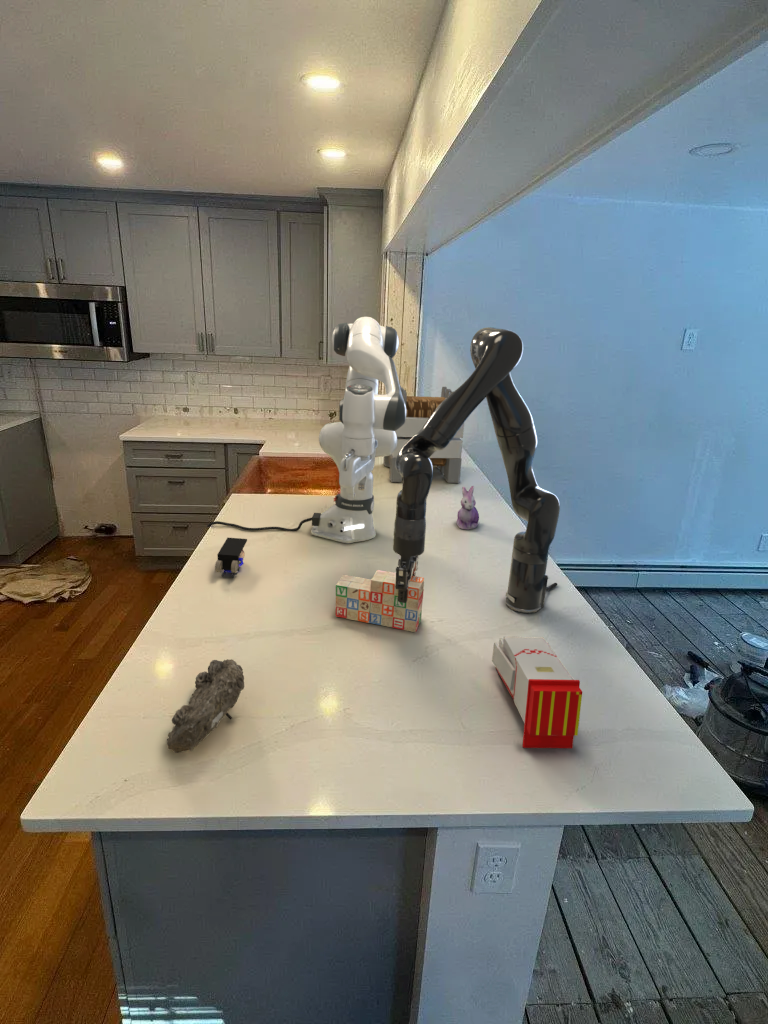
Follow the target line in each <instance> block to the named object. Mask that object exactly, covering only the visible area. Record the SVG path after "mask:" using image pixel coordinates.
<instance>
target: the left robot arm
mask: <svg viewBox="0 0 768 1024" xmlns="http://www.w3.org/2000/svg"><path fill="white" fill-rule="evenodd" d="M398 335H399V334H398V332H397V330H396V328H394V327H391V326H388V325H386V326H383V325H380V323H379V322H378V321H377V320H376V319H375V318H373V317H370V316H361V317H358V318H357V319H356V320H355V321H354V322H353V323H348V322H343V323H338V324H337V325H336V326H335V327H334V330H333V331H332V335H331V345H332V348H333V351H334V352H335V354H336V355H338V356H341V357H346V359H347V363H348V365H349V366H348V369H347V373H346V378H345V379H346V380H345V388H344V389H345V390H344V395H343V398H342V399H341V400H340V401H339V417H338V420H339V421H336V422H330V423H325V424H324V425H323V426H322V427H321V429H320V431H319V434H318V442H319V446H320V448H321V450H322V451H323V452H324V453H325V454H327V455H328V456H329V457H330V459H332V461H333V462H334V464H335V465H336V467H337V470H338V473H339V476H338V485H339V487H340V488H339V489H340V490H339V491H338V492H337V494H336V495H335V496H334V497H333V502H334V504H333V505H331V506H329V507H328V508H326V509H325V510H323V512H313V514H312V517H308V518H305V519H302V520H301V521H300V522H299V523H298V526H297V527H295V528H287V527H282V526H263V527H246V526H242V525H239V524H236V523H230V522H224V521H219V520H215V521H211V522H210V523H208V524H207V525H206V528H209V527H212V526H213V525H221V526H227V527H233V528H236V529H239V530H243V531H251V532H259V531H260V532H261V531H269V530H272V531H273V530H278V531H283V532H297V531H300V530H301V528H302V526H303V525H304V524H305V523H307V522H311V526H312V528H311V530H310V533H311V536H315V537H319V538H323V539H326V540H330V541H336V542H339V543H343V544H352V543H357V542H365V541H368V540H372V539H373V538H375V537H376V535H377V532H376V528H375V523H374V513H373V512H374V509H375V496H374V474H373V471H374V468H375V463H376V462H375V461H376V458H382V457H383V458H384V456H389V455H391V454H392V453H393V452H394V450H395V449H396V446H397V435H396V433H395V431H396V430H397V429H399V428H400V427H401V426H402V425H404V423H405V420H406V406H405V403H404V399H403V396H402V393H401V389H400V386H401V384H400V380H399V377H398V376H399V375H398V372H397V368H396V364H395V362H394V359H393V358H394V357H395V356H396V353H397V352H398V349H399V346H400V339H399V336H398ZM379 382H381V383H382V384H383V385H384V388H385V394H379Z"/></svg>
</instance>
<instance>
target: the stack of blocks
mask: <svg viewBox="0 0 768 1024" xmlns="http://www.w3.org/2000/svg"><path fill="white" fill-rule="evenodd" d="M407 576H409V575H408V574H407ZM401 584H404V583H403V582H401ZM395 586H396V571H394V572H393V571H388V570H387V571H386V570H380V569H377V570H376V571H375V573H374V574H373V576H372V578H371V579H370V578H364V577H359V576H354V575H353V576H352V575H346V574H343V575H342V576H341V577H340V579H339V580H338V581H337V583H335V617H336V618H337V617H338V618H342V619H347V620H352V621H356V622H357V621H358V622H361V623H367V624H373V625H377V626H384V627H388V628H393V629H396V630H402V631H406V632H412V633H416V632H417V631H418V629H419V625H420V624H421V621H422V612H423V601H424V600H423V599H424V591H425V589H424V587H425V577H422V576H416V575H415V576H412V579H411V580H410V581H409V588H408V597H407V602H406V603H402V602H399V601H398V589H396V587H395Z"/></svg>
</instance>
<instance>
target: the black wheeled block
mask: <svg viewBox="0 0 768 1024" xmlns="http://www.w3.org/2000/svg"><path fill="white" fill-rule="evenodd" d="M247 542H248V538H240V537H226V539H225V541H224V543H223V544H222V546H221V547H220V549H219V551H218V552H217V560H216V562H215V564H214V572H215V573H221V577H222V578H224V577H225V576H226V574H227V573H230V574H231V573H232V574H231V578H234V577H235V575H236V573H237V572H239V571H240V567H242V566H243V565H244V564H245V562H244V558H245V551H244V547H245V546H246V544H247Z"/></svg>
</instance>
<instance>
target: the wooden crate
mask: <svg viewBox="0 0 768 1024" xmlns="http://www.w3.org/2000/svg"><path fill="white" fill-rule="evenodd" d="M400 389H401V393H402V396H403V399H404V403H405V406H406V420H405V423H404V425H402V426H401V427H400V428H399V429H397V430H396V431H395V433H396V435H397V446H396V449H395V450H394V452H393V453H392V454H391V455H389V456H383V466H384V467H388V468H389V475H388V476H389V477H388V478H389V480H390V482H391V483H403V477H402V476H401V475H400V474H399V473H398V472H397V470H396V467H395V460H396V457H397V455H398V453H399V452H400V450H401V449H402V448H403V447H404V445H405V444H406V443H407V442H408V441H409V440H410V439H411V438H412V437H413V436H415V435H416V434H417V433H418V432H419V431H420V430H421V429H422V428H423V426H424V425H425V424H426V422H427V420H428V419H429V417H430V416H431V415H432V413H433V412H434V411H435V409H436V408H437V407H438V406H439V405H440V403H441V402H442V401H443V400H445V399H446V398H447V397H448V396H449V395H450V394H452V393H453V392H454V391H455V390H454V391H453V390H452V389H451V388H447V386H442V387H441V392H440V393H441V394H440V396H415V395H414V396H413V395H412V396H411V395H407V394H408V393H407V390H406V389H404V388H403V387H402V385H400ZM464 429H465V422H464V423H463V425H462V426H461V427H460V429H459V430H458V432H457V433H456V434H455V436H454V437H453V439H452V440H451V441H450V443H449V444H448V445H447V446H446V448H445V449H443V450H437V451H435V452H434V453H433V454H432V455H431V456H430V458H429V459H430V461H431V463H432V466H433V467H436V468H437V470H438V469H439V473H440V474H441V475H443V478H444V479H445V481H446V482H447V483H449V484H455V483H456V484H459V483H461V472H462V461H463V460H462V453H463V442H464V441H463V440H462V439H463V438H464V431H465V430H464Z"/></svg>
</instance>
